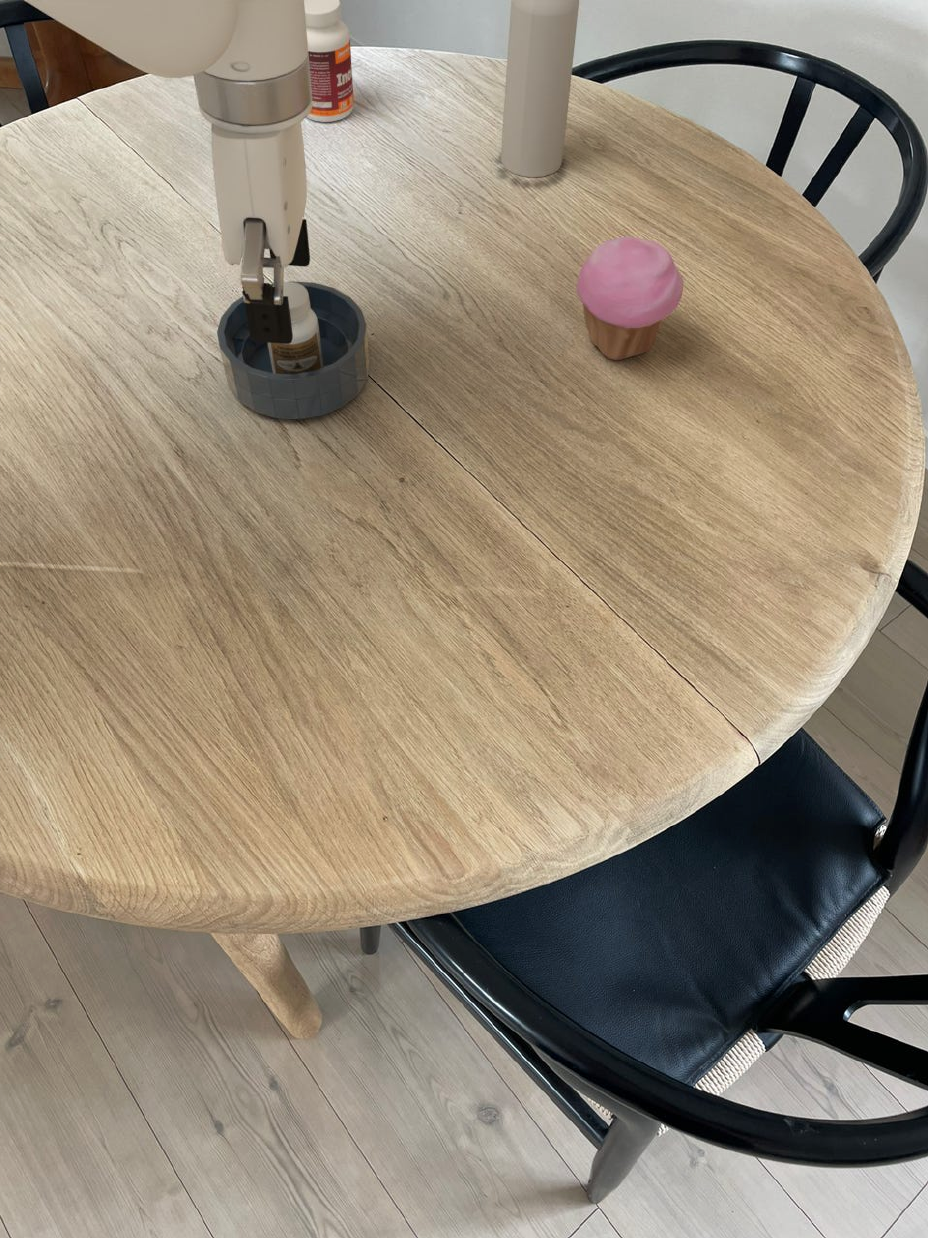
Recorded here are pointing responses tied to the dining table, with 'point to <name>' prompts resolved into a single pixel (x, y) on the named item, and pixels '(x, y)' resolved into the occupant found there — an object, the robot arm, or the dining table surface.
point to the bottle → (538, 85)
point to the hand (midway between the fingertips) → (281, 300)
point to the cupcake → (627, 294)
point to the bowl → (304, 390)
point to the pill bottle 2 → (328, 61)
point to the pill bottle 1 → (298, 336)
